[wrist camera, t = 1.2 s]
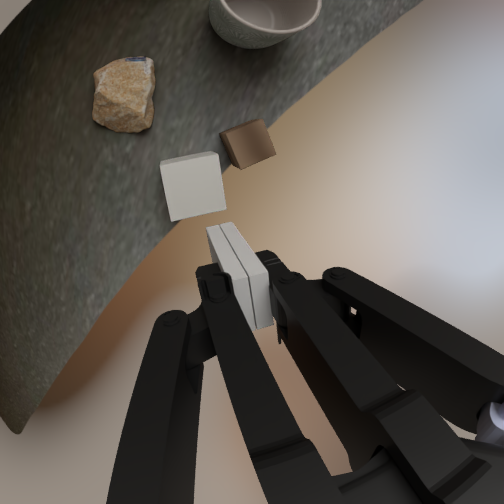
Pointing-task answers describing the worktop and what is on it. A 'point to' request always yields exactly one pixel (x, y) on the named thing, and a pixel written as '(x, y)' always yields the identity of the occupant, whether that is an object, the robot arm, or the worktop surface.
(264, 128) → the walnut block
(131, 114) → the stone
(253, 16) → the planter
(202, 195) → the block
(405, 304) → the robot arm
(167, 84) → the worktop surface
